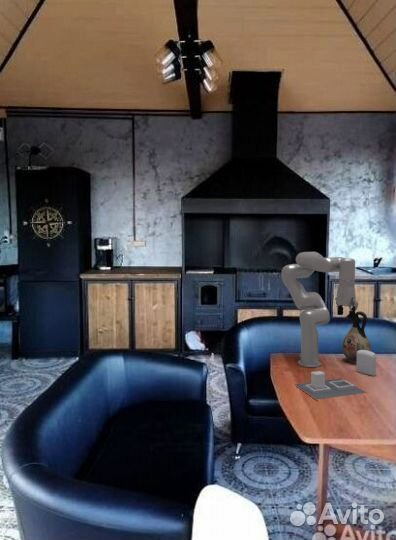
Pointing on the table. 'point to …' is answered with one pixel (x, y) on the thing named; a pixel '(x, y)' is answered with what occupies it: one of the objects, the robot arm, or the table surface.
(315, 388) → the plug
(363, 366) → the photo printer
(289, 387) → the table surface
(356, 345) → the ceramic jug
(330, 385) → the dock board
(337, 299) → the robot arm
